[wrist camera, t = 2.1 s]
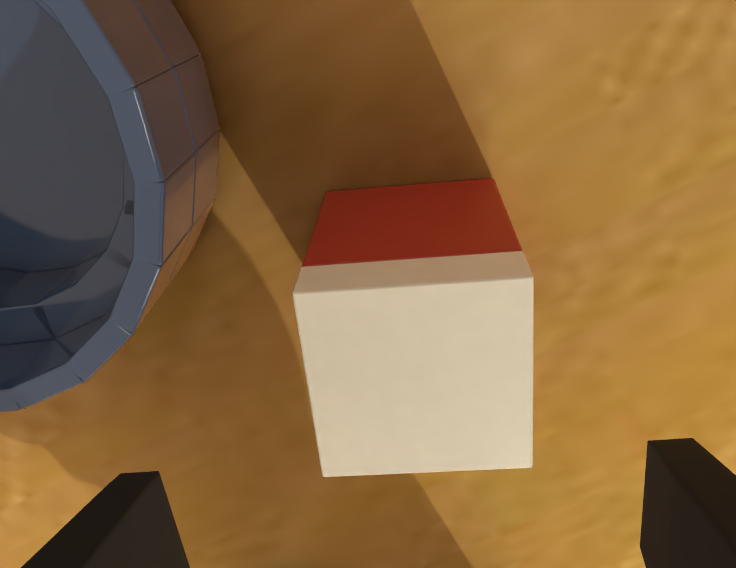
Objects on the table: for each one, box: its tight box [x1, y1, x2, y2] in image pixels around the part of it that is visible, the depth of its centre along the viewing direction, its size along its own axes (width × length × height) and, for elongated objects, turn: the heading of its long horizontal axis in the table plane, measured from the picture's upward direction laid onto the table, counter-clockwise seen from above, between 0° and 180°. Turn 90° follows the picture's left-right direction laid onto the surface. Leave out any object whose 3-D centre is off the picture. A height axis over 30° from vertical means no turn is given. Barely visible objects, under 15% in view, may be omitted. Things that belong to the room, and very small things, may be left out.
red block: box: [292, 178, 534, 477], centre depth 16 cm, size 4×4×6 cm
